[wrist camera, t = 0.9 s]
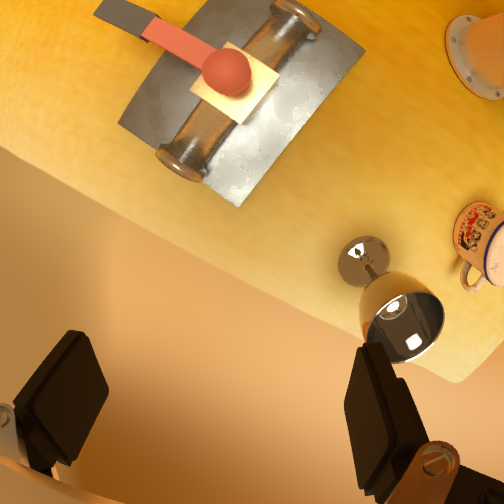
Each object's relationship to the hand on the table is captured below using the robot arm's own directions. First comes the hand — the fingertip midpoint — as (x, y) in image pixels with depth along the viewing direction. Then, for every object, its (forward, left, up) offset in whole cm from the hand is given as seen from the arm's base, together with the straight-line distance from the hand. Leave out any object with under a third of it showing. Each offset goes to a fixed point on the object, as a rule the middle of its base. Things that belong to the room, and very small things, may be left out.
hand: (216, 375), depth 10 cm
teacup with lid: (-15, +27, -28) cm, 42 cm away
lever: (-9, -15, -18) cm, 25 cm away
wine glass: (-2, +16, -28) cm, 33 cm away
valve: (-10, -10, -28) cm, 31 cm away
